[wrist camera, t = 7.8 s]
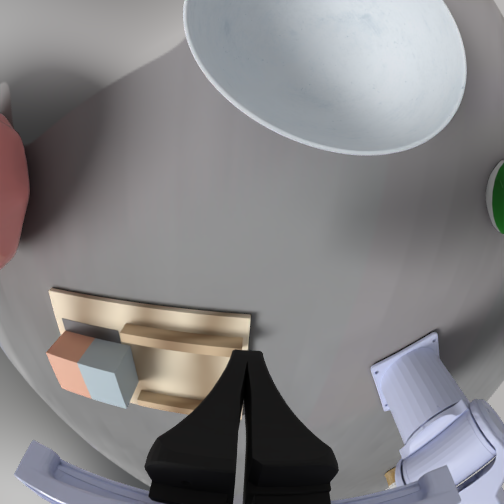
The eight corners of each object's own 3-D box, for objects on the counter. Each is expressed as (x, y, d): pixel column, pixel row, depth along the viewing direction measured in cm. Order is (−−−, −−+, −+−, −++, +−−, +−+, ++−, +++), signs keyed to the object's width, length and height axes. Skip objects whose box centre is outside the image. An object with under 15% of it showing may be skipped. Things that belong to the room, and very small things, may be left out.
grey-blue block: (130, 345, 23) (114, 373, 19) (138, 381, 25) (126, 408, 21) (95, 338, 23) (77, 362, 19) (106, 373, 25) (91, 398, 21)
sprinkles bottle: (382, 472, 35) (397, 525, 23) (404, 462, 34) (421, 514, 22) (386, 476, 36) (400, 526, 24) (406, 467, 36) (422, 516, 23)
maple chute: (250, 314, 22) (250, 329, 20) (241, 415, 27) (240, 429, 25) (51, 287, 22) (40, 297, 20) (83, 385, 27) (77, 396, 25)
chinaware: (432, 122, 17) (497, 119, 10) (263, 187, 19) (267, 207, 12) (350, -27, 12) (379, -75, 5) (178, 20, 15) (144, -31, 7)
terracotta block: (95, 338, 23) (77, 362, 19) (106, 373, 25) (91, 398, 21) (65, 330, 23) (46, 352, 19) (77, 365, 25) (62, 388, 21)
